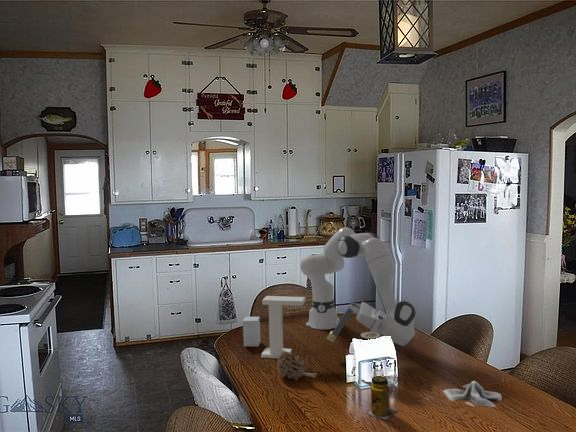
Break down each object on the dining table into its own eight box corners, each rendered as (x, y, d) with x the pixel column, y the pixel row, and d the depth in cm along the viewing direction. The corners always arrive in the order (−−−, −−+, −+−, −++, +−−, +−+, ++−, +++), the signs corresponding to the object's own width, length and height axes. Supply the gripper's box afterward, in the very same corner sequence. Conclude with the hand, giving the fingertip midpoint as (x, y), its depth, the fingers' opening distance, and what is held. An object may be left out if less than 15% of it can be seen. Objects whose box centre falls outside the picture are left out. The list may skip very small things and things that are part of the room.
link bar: (333, 341, 225) (327, 337, 225) (357, 304, 221) (351, 300, 222) (332, 344, 220) (325, 340, 221) (356, 306, 217) (350, 302, 217)
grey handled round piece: (270, 376, 204) (269, 352, 203) (286, 369, 211) (286, 346, 210) (311, 391, 188) (311, 366, 188) (327, 383, 195) (327, 358, 195)
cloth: (434, 396, 184) (434, 379, 184) (464, 382, 195) (464, 367, 195) (491, 418, 166) (491, 400, 166) (520, 402, 178) (520, 385, 177)
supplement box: (260, 341, 247) (260, 316, 246) (258, 346, 240) (257, 320, 239) (246, 341, 248) (245, 316, 247) (243, 346, 240) (242, 320, 239)
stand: (266, 350, 234) (264, 295, 232) (306, 352, 230) (305, 296, 228) (261, 357, 225) (259, 300, 223) (303, 359, 221) (302, 301, 219)
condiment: (366, 413, 170) (365, 379, 169) (378, 404, 177) (378, 371, 176) (385, 420, 166) (385, 384, 165) (397, 410, 172) (397, 376, 171)
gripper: (382, 308, 227) (355, 292, 229) (381, 321, 207) (351, 304, 209) (375, 320, 228) (348, 304, 230) (373, 334, 208) (344, 316, 210)
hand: (349, 304), depth 220 cm, fingers closed on link bar, 3 cm apart
